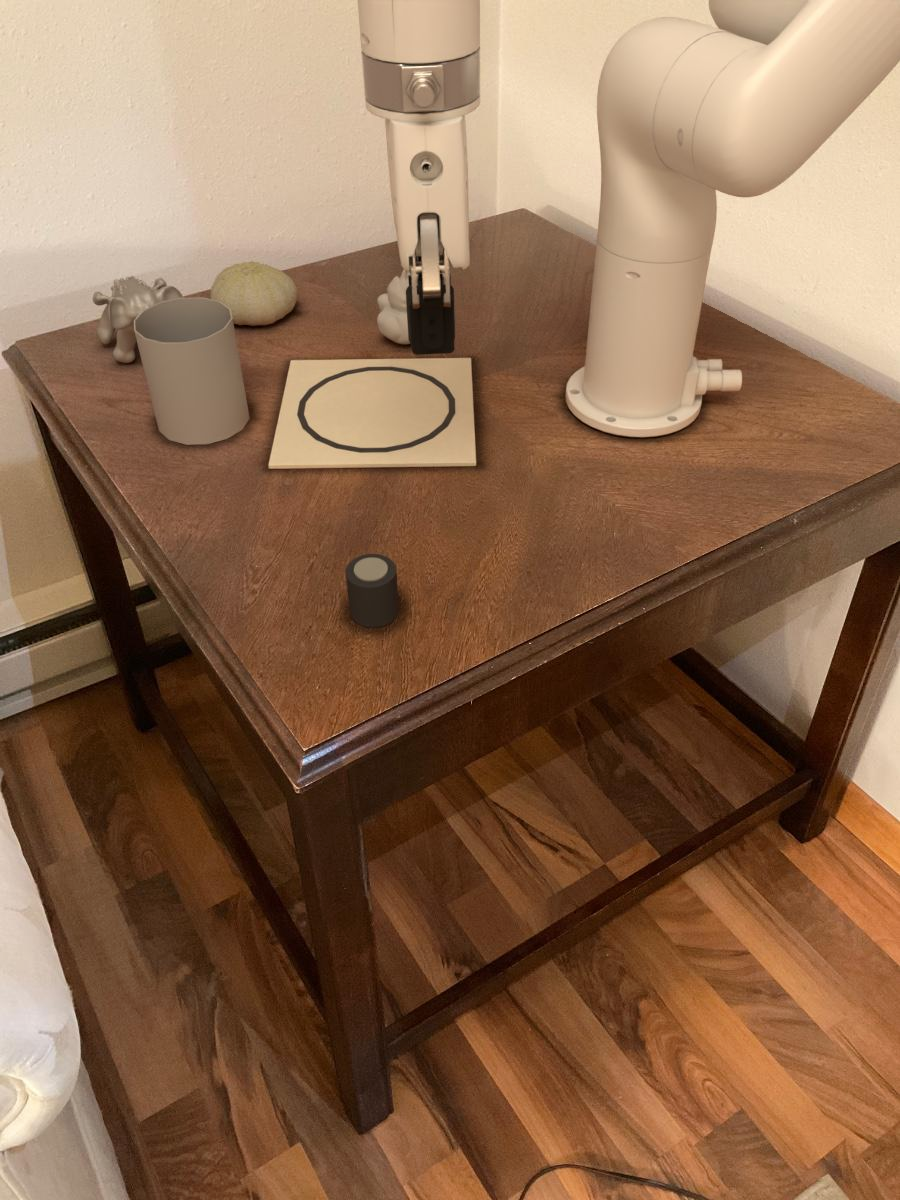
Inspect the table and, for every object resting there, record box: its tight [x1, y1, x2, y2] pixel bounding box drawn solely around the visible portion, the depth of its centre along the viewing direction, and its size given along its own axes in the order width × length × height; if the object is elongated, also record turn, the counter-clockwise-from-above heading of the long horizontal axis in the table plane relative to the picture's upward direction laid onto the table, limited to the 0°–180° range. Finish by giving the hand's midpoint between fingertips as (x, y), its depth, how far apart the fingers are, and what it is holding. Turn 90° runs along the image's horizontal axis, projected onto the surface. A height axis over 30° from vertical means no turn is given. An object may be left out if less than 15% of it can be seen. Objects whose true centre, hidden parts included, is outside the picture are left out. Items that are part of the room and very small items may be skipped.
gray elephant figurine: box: [92, 275, 184, 364], centre depth 98 cm, size 9×12×8 cm
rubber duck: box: [376, 268, 411, 345], centre depth 100 cm, size 5×7×8 cm
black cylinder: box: [406, 284, 456, 346], centre depth 75 cm, size 4×4×4 cm
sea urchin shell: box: [209, 260, 298, 327], centre depth 105 cm, size 9×8×8 cm
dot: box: [345, 553, 400, 629], centre depth 71 cm, size 4×4×4 cm
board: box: [268, 357, 477, 470], centre depth 92 cm, size 18×18×1 cm
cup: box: [134, 296, 251, 446], centre depth 88 cm, size 8×8×10 cm
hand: (432, 335), depth 76 cm, fingers closed on black cylinder, 3 cm apart
